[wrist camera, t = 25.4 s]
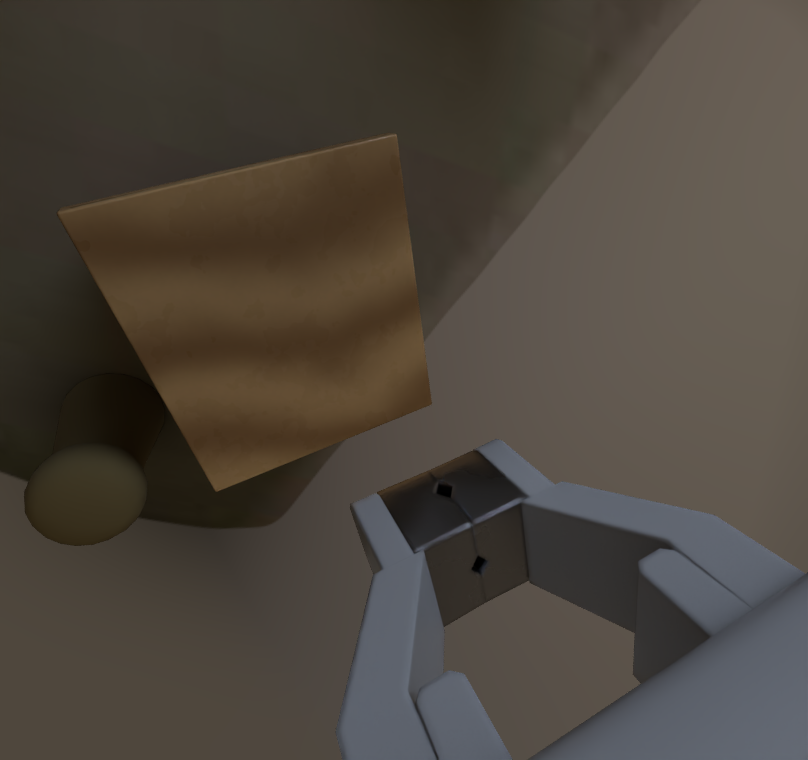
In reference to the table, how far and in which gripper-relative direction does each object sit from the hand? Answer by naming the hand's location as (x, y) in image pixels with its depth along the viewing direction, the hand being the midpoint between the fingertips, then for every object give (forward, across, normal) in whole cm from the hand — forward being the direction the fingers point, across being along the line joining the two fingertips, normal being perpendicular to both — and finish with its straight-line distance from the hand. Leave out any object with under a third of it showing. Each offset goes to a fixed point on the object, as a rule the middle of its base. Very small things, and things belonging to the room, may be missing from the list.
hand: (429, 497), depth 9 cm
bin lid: (+16, 0, +1) cm, 16 cm away
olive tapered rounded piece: (+27, +12, +7) cm, 31 cm away
